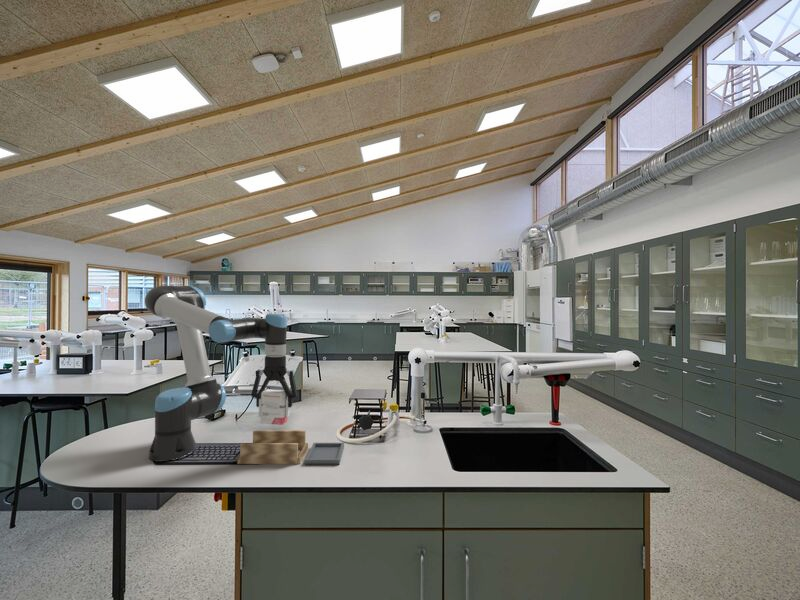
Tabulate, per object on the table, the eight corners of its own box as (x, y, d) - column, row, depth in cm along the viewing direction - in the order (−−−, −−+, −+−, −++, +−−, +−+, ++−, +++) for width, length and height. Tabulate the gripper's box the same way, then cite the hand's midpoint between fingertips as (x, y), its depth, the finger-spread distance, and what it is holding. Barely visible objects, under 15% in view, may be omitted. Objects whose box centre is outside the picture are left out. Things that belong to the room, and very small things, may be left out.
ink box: (288, 421, 145) (288, 389, 145) (282, 425, 141) (283, 393, 140) (266, 419, 147) (267, 388, 146) (260, 423, 142) (260, 391, 142)
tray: (305, 465, 136) (305, 460, 136) (313, 447, 152) (313, 442, 152) (339, 464, 137) (339, 459, 137) (344, 447, 153) (344, 442, 153)
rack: (237, 463, 136) (237, 444, 136) (251, 448, 150) (251, 430, 150) (300, 463, 137) (300, 444, 137) (307, 448, 151) (308, 430, 151)
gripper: (241, 356, 139) (240, 418, 139) (302, 357, 140) (301, 419, 140) (249, 353, 146) (248, 412, 147) (307, 354, 147) (305, 412, 148)
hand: (274, 415), depth 144 cm, fingers closed on ink box, 9 cm apart
